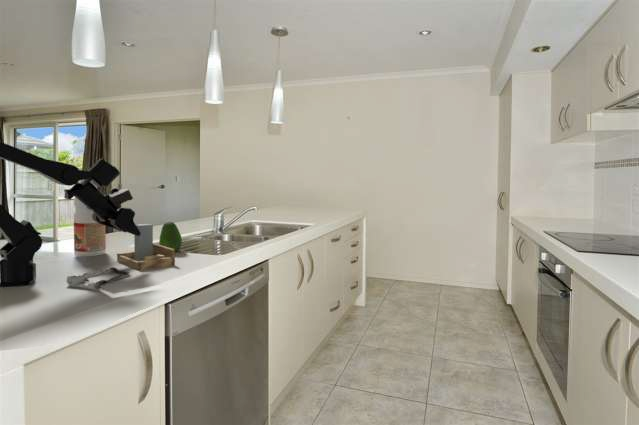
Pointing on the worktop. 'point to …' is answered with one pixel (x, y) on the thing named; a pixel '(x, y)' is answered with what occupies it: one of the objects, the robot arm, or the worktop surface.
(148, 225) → the grey rectangular block
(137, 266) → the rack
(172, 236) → the avocado
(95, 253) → the fruit juice
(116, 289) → the worktop surface
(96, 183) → the robot arm
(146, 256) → the offcut
